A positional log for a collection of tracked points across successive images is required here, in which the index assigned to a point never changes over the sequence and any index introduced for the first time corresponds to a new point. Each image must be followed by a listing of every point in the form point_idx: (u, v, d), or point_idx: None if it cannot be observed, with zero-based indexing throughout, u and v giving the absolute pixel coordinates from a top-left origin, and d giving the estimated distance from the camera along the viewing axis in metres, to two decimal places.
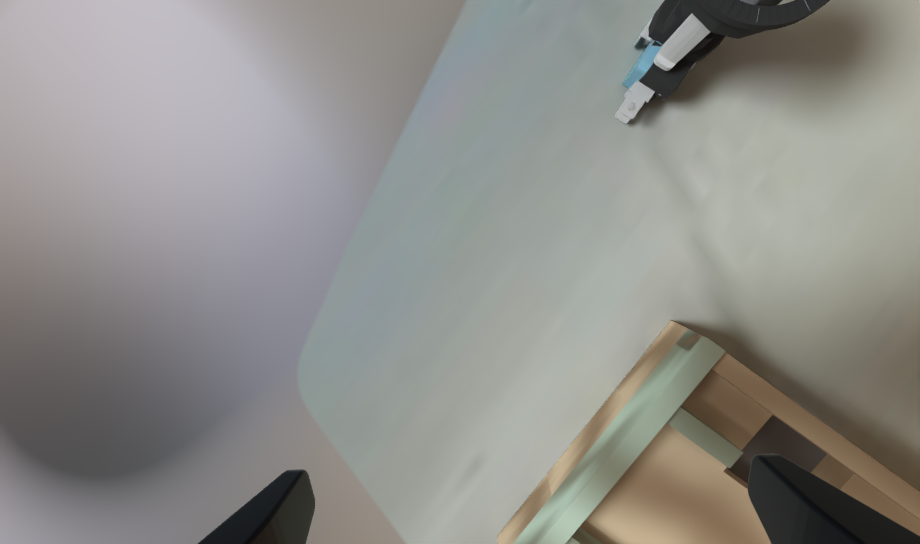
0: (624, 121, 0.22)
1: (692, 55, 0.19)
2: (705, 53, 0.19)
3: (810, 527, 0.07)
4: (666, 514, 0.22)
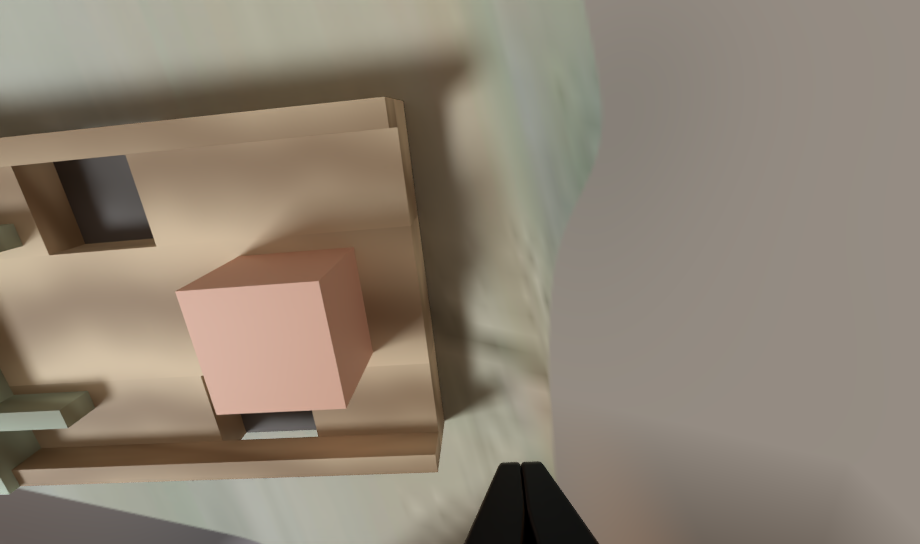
0: None
1: None
2: None
3: (528, 533, 0.07)
4: (65, 329, 0.20)
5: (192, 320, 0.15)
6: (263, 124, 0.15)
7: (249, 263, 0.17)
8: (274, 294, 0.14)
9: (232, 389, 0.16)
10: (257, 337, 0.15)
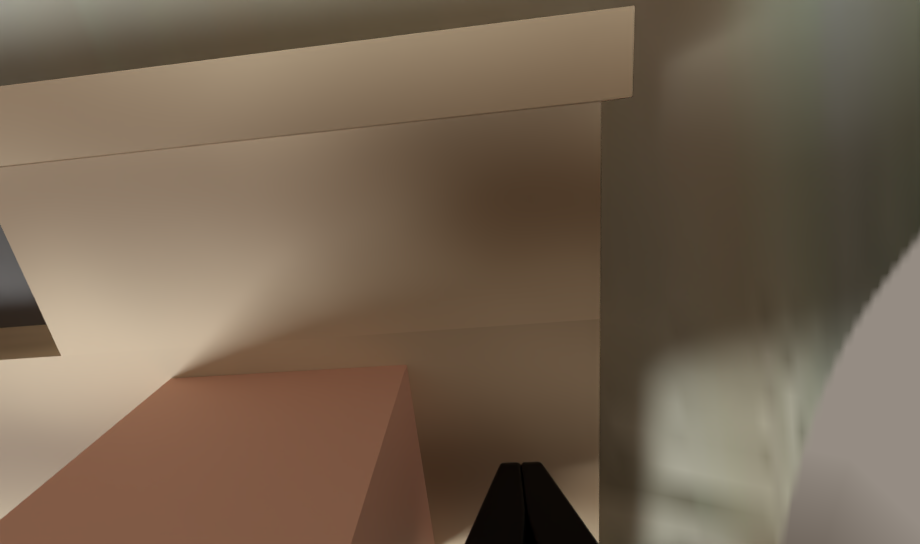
0: None
1: None
2: None
3: (528, 533, 0.07)
4: None
5: None
6: (288, 89, 0.06)
7: (183, 415, 0.08)
8: None
9: None
10: None
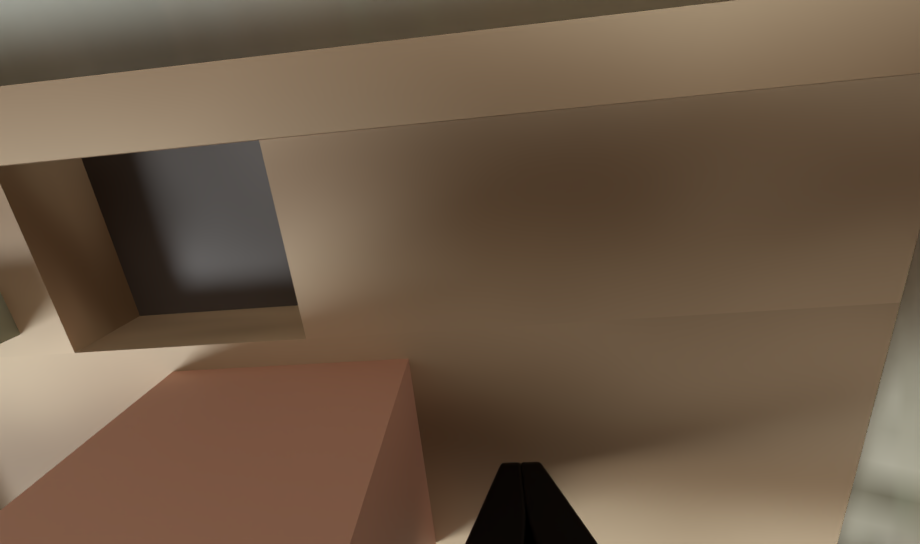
0: None
1: None
2: None
3: (527, 533, 0.07)
4: None
5: None
6: (713, 46, 0.05)
7: (185, 407, 0.08)
8: None
9: None
10: None
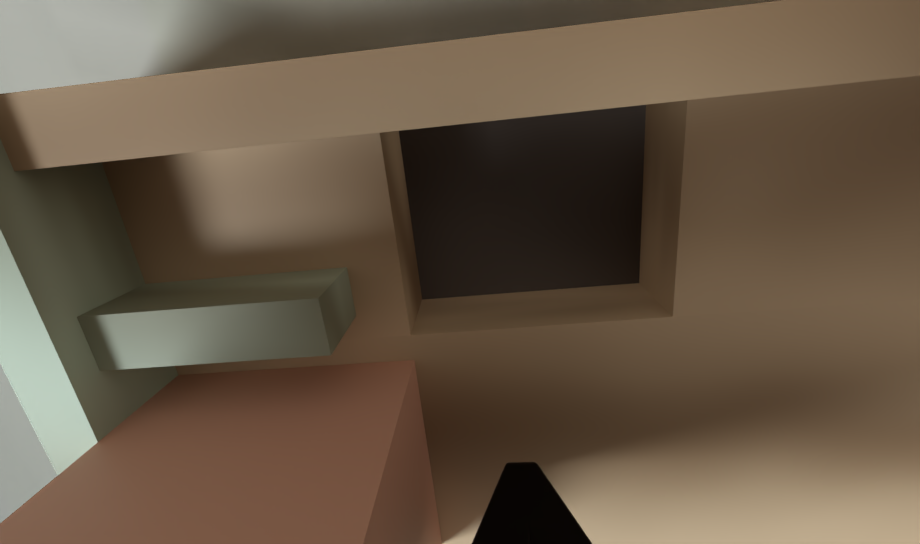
0: None
1: None
2: None
3: None
4: None
5: None
6: None
7: (192, 410, 0.08)
8: None
9: None
10: None
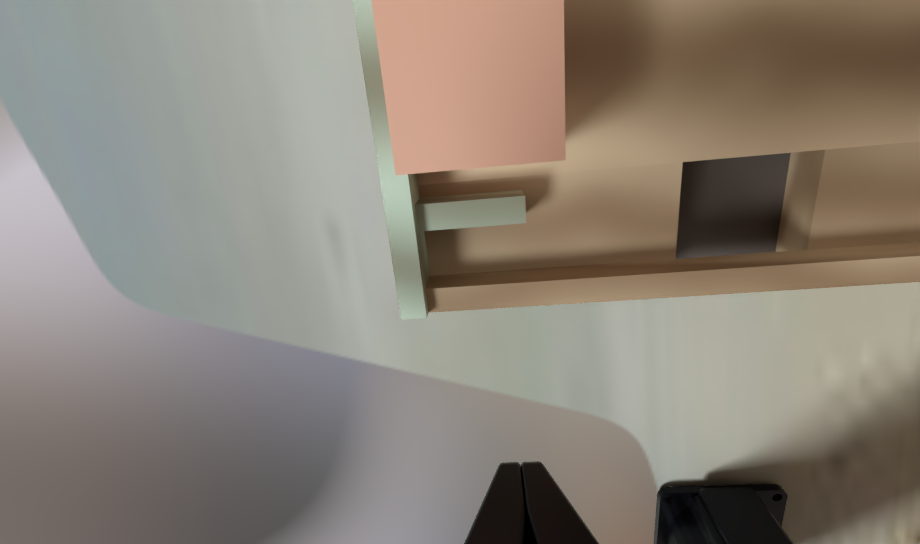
0: None
1: None
2: None
3: (528, 533, 0.07)
4: None
5: (385, 26, 0.11)
6: None
7: None
8: None
9: (421, 135, 0.12)
10: (466, 52, 0.12)
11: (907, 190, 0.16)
